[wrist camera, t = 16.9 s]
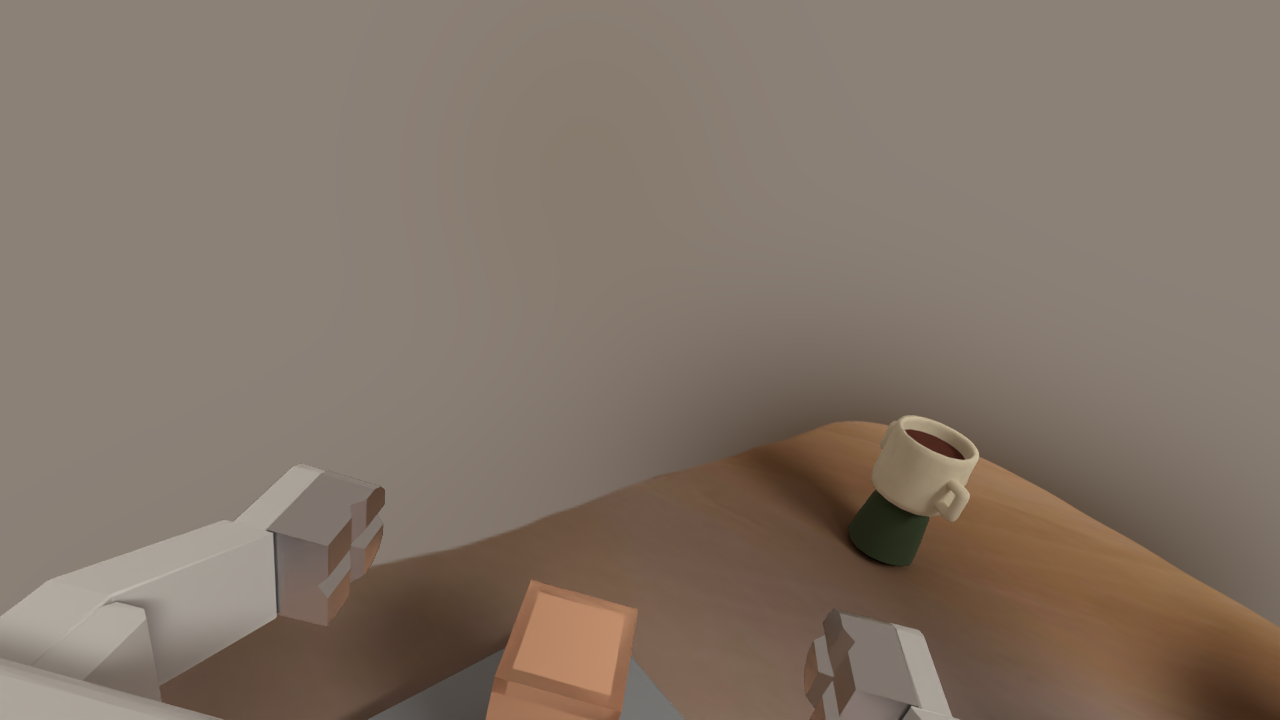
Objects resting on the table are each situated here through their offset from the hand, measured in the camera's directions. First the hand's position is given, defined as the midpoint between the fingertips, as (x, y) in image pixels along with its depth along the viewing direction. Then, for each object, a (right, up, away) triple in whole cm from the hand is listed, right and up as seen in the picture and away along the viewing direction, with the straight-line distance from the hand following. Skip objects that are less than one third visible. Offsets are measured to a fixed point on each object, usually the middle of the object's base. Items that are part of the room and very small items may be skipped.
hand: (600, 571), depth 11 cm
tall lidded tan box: (-5, -18, +22) cm, 29 cm away
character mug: (+23, -14, +49) cm, 56 cm away
